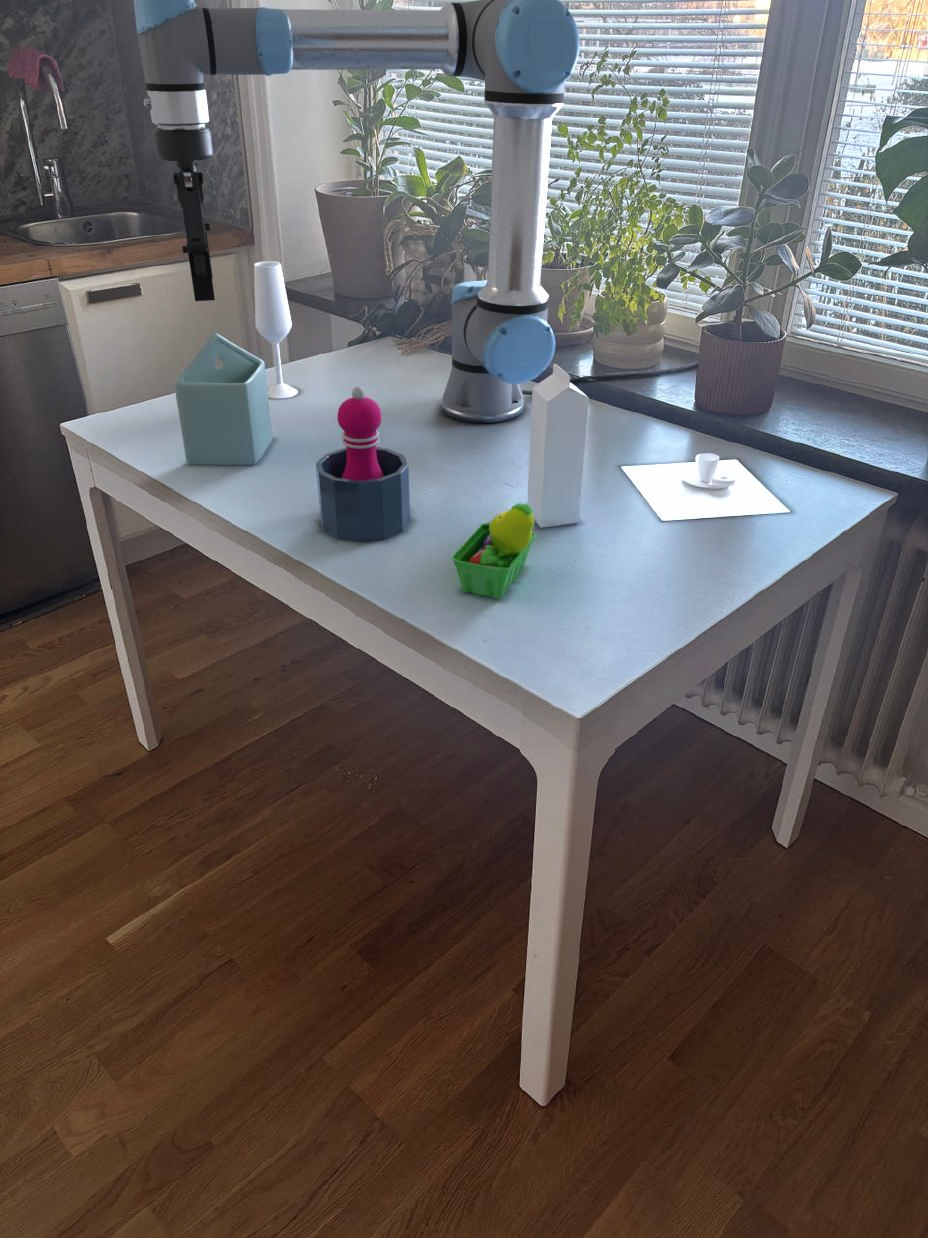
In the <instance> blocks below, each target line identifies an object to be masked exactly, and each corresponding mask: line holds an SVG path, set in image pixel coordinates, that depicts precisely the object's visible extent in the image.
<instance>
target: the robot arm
mask: <svg viewBox="0 0 928 1238" xmlns="http://www.w3.org/2000/svg"><path fill="white" fill-rule="evenodd" d="M196 5H197V4H196V2H195V0H133V8H134V17H135V26H136V34H137V40H138V46H139V52H140V58H141V64H142V69H143V75H144V82H145V88H146V90H147V91H146V92H147V96H148V97H147V98H144V99H143V105H144V107H146V108H149V107H151V109H150V111H149V112H150V118H151V123H152V124H153V125H156V126H157V127H156V128H154V131H152V134H153V140H154V146H155V151H156V156H157V158H158V159H159V160H161V161H166V162H176V164H177V165H176V166H177V169H178V171H177V172H173V175H172V176H173V183H174V189H175V190H176V194H177V201H178V205H179V207H180V208H181V209H182V216H183V222H184V229H185V230H184V231H185V237H186V244H185V245H182V246H181V248H182V254H187V256H188V261H189V267H190V268H189V269H190V275H191V282H192V288H193V297H194V301H195V302H206V301H207V302H209V301H210V302H211V301H215V300H216V298H215V291H214V283H213V279H214V278H213V270H212V262H211V256H210V248H209V247H210V246H209V240H208V234H207V233H208V232H211V226H210V224H211V223H207V222H206V219H205V217H204V212H203V208H204V207H205V205H206V204H205V196H204V195H205V194H204V189H205V183H204V181H205V180H204V175H203V171H198V170H197V167H198V162H197V161H205V160H206V161H207V160H209V159H211V158H212V157H213V156H214V150H213V149H214V148H213V142H212V134H211V130H210V129H209V127H206V125H207V124H208V123H209V122H210V115H209V106H208V98H207V89H206V87H205V82H204V80H205V79H204V76H206V75H207V76H208V75H209V76H216V75H224V76H225V75H231V76H234V75H235V76H236V75H237V76H254V75H255V76H260V75H261V76H266V77H270V76H273V75H284V74H289V73H290V72H291V71H327V70H328V71H338V70H339V71H340V70H341V71H342V70H344V71H347V70H348V71H349V70H350V71H351V70H354V71H357V70H358V71H359V70H364V71H366V70H369V71H370V70H371V71H372V70H373V71H374V70H387V71H388V70H396V71H397V70H440V71H441V72H442V73H443V74H444V75H445V76H446V77H447V78H457V77H458V78H467V79H475V80H479V81H484V97H483V98H484V99H483V101H484V104H485V105H486V107H487V108H488V109H489V111H490V112H491V113H492V116H493V130H492V131H493V132H492V155H491V156H492V157H491V178H490V179H491V181H490V206H489V207H490V208H489V226H488V227H489V229H488V253H487V255H488V256H487V275H486V276H487V277H486V280H473V281H472V280H471V281H464V282H459V283H457V284H456V285H454V286H453V289H452V294H451V301H450V306H451V370H450V373H449V376H448V379H447V382H446V386H445V389H444V392H443V396H442V400H441V409H442V412H443V413H444V414H445V415H446V416H448V417H450V418H452V419H455V420H458V421H462V422H468V423H476V424H492V423H501V422H506V421H510V420H513V419H515V418H517V417H520V416H521V415H522V414H523V412H524V409H525V408H524V407H525V401H524V395H525V396H526V395H529V396H532V391H533V390H529V389H522V388H521V384H526V383H528V382H531V381H533V380H534V379H536V378H538V377H540V375H541V374H542V373H543V372H545V371H546V370H547V368H548V367H549V365H550V364H551V362H552V360H553V358H554V355H555V351H556V338H555V334H554V332H553V328H552V327H551V326H550V324H549V323H548V314H549V311H548V310H549V299H550V297H549V294H548V293H547V292H546V290H545V289H544V288H543V287H542V285H541V278H542V265H543V251H544V236H545V222H546V221H545V220H546V207H547V194H548V193H547V192H548V177H549V165H550V151H551V150H550V149H551V135H552V121H553V117H554V116H555V115H556V114H557V113H558V112H559V110H560V109H562V107H563V106H564V101H565V100H564V99H565V98H564V97H565V88H566V87H565V86H566V82H567V80H569V78H570V76H571V75H572V74H573V72H574V71H575V68H576V66H577V64H578V59H579V54H580V35H579V30H578V26H577V23H576V20H575V19H574V16H573V15H572V13H571V12H570V10H569V9H568V8H567V6H566V5H565V4H564V3H563V2H561V1H560V0H472V1H462V2H445V3H444V4H443V6H442V7H441V8H440V9H439V10H438V9H437V10H436V9H435V10H432V9H431V10H429V9H428V10H425V9H422V10H420V9H416V10H415V9H302V8H301V9H298V8H297V9H296V8H295V9H293V8H292V9H291V8H290V9H289V8H288V9H287V8H285V9H284V8H268V7H264V6H263V7H262V6H260V7H220V8H219V7H216V8H215V7H214V8H208V7H202V6H196ZM205 222H206V223H205ZM697 361H698V360H696V361H694V362H691V363H688V364H685V365H680V366H676V367H670V368H664V369H662V368H661V369H655V370H654V369H653V370H644V371H642V370H641V371H629V372H628V371H627V372H625V371H624V372H613V373H611V372H610V373H604V374H605V375H595V374H591V375H592V376H586V375H582V376H583V377H576V376H570V383H573V382H579V381H587V380H599V379H613V378H615V379H616V378H627V377H628V378H629V377H644V376H645V377H646V376H656V375H663V374H664V375H665V374H670V373H677V372H682V371H686V370H689V369H692V368H695V367H697V366H698V365H697ZM572 377H574V378H572Z"/></svg>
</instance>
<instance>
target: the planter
mask: <svg viewBox="0 0 928 1238" xmlns="http://www.w3.org/2000/svg"><path fill="white" fill-rule="evenodd" d="M218 356H219V361H221V365H220V366H219V367H217V362H218ZM267 381H268V380H267V372H266V365H265V361H264V360H263V359H261V358H259V357H258V356H255V355H254V354H252V353H250V352H248V351H247V350H245V349H244V348H242V347H240V346H238V345H237V344H235V343H233V342H231V341H229V339H227V338H225V337H224V336H222V335H220V334H219V333H217V332H214V333H212V335H211V336H210V337H209V338H208V340H207V341H206V343H205V344H204V345H203V346H202V348H201V349H200V350H199V351H198V353H197V354H196V355H194V357H193V358H192V359H191V361H190V362H189V363H188V364H187V366H185V368H184V369H183V370H182V372H181V373H180V374H179V376H178V377H177V378H176V379H175V380H174V383H173V387H174V392H175V400H176V406H177V412H178V418H179V424H180V431H181V437H182V442H183V448H184V456H185V462H186V464H187V465H191V466H192V465H195V466H197V465H199V466H202V465H203V466H204V465H205V466H256V465H257V463H259V461H260V460H261V459H262V458H263V456H264V454H265V453H266V452H267V450H268V448H269V446H270V445H271V443H272V442H273V439H274V437H273V430H272V429H273V428H272V427H273V426H272V420H271V411H270V409H271V408H270V399H269V397H268V390H267V389H268V382H267Z"/></svg>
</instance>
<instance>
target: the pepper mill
mask: <svg viewBox="0 0 928 1238" xmlns="http://www.w3.org/2000/svg"><path fill="white" fill-rule="evenodd" d="M336 419H337V423H338V425H339V427H340V429H341V430H343V432H342V433H341V434H342V435H341V436H342V438H343V439H342V444H343V445H344V446H345V448H346V449H347V463H346V468H345V471H344V473H343V476H342V478H341V479H349V480H357V481H359V480H369V479H379V478H382V477H384V475H383V473H382V471H381V469H380V467H379V464H378V461H377V456H376V447H377V445H378V444H379V443H380V438H379V435H380V433H379V431H378V429H379V428H380V426H381V424H382V419H383V417H382V410H381V408H380V406H379V404H378V403H377V402H376V401H375V400H373V399H372V398H370V397H366V391H365V390H364V388H363V387H361V386H355V387H353V389H351V397H349V398H347V399H346V400H344V401H343V402H341V404H340V405H339V407H338V410H337V418H336Z"/></svg>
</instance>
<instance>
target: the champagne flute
mask: <svg viewBox="0 0 928 1238" xmlns="http://www.w3.org/2000/svg"><path fill="white" fill-rule="evenodd" d="M253 268H254V269H253V271H254V273H253V274H254V315H255V318H254V319H255V321H254V323H255V325H254V326H255V328H256V331H257V332H258V333H259V334H260V336H262V338H264V339H265V340H266V341H268V342H269V343H271V344H272V352H273V362H274V370H275V372H274V373H275V382H276V383H275V384H273V385H272V386H270V387H269V388H267V390H268V399H269V398H270V399H289V398H292V397H294V396H296V395H297V394H298V393H299V390H297V389H296V388H294V387H292V386H290V385H288V384H286V383H284V382H283V371H282V362H281V352H280V343H281V342H283V340H285V338H286V337H287V336H288V335H289V333H290V332H291V329H292V326H293V323H292V317H291V312H290V307H289V306H290V305H289V302H288V301H289V300H288V295H287V290H286V285H285V280H284V279H285V278H284V274H283V269H282V264H281V262H279V261H276V260H275V261H273V260H268V261H267V260H265V261H259V262H255V263H254V265H253Z"/></svg>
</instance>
